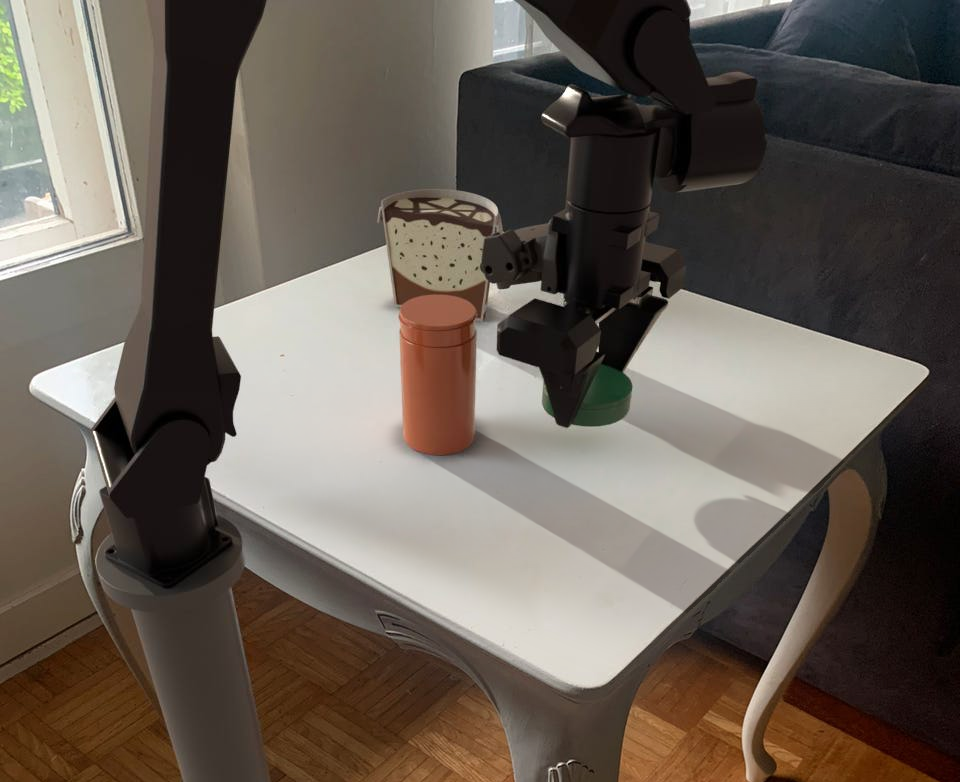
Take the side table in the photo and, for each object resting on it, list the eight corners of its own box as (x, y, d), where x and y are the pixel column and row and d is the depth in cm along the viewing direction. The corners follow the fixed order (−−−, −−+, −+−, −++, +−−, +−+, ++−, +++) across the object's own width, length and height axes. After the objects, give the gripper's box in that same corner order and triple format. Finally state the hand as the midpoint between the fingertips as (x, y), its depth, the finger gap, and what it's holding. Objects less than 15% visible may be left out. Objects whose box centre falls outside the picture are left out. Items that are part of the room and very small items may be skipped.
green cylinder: (602, 437, 71) (605, 414, 70) (524, 409, 74) (526, 387, 72) (644, 400, 75) (648, 378, 74) (569, 375, 78) (571, 354, 77)
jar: (448, 463, 74) (448, 334, 67) (388, 440, 76) (382, 313, 69) (488, 431, 78) (492, 306, 70) (430, 411, 80) (428, 287, 73)
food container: (516, 300, 97) (521, 197, 90) (497, 324, 93) (501, 218, 86) (404, 281, 100) (401, 180, 93) (381, 304, 95) (376, 200, 89)
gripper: (570, 145, 73) (555, 337, 84) (431, 212, 61) (433, 426, 72) (705, 173, 69) (670, 372, 79) (582, 251, 57) (561, 472, 68)
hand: (585, 406), depth 75 cm, fingers closed on green cylinder, 7 cm apart
